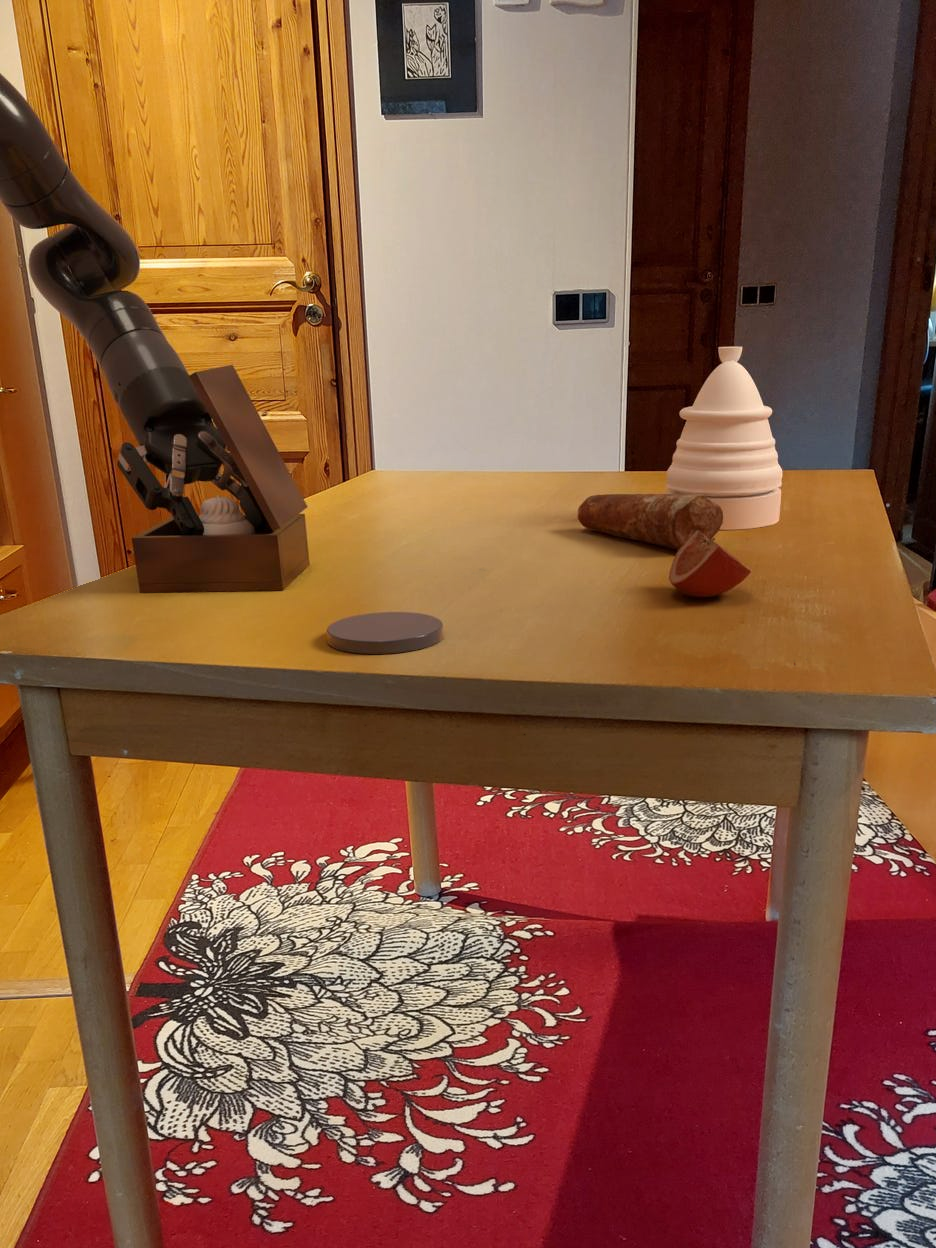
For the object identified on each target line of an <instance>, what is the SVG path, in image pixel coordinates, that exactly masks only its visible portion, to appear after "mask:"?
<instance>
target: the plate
mask: <svg viewBox="0 0 936 1248" xmlns="http://www.w3.org/2000/svg"><path fill="white" fill-rule="evenodd" d="M326 638H327V643H328V645H329V646H330V647H331V648H333V649H335V650H338V651H341V652H346V653H352V654H362V655H388V654H389V655H390V654H401V653H408V652H413V651H418V650H422V649H425V648H429V647H431V646H433V645H435V644H438V643H440V642H441V641H442V639H443V638H444V624H443V621H442V620H441V619H440V618H438V617H436V616H433V615H431V614H425V613H420V612H409V611H383V612H382V611H381V612H370V613H363V614H358V615H351V616H348V617H344V618H341V619H338V620H336V621H334V622H332V623H330V624H329V625H328V626H327V628H326Z"/></svg>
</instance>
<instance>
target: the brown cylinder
mask: <svg viewBox="0 0 936 1248" xmlns="http://www.w3.org/2000/svg"><path fill="white" fill-rule="evenodd" d="M577 521H578V522H579V523H580V525H581V526H582V527H583V528H586V529H589V530H593V531H597V532H601V533H605V534H607V535H609V536H610V535H611V536H614V537H618V538H621V539H622V538H623V539H627V540H629V539H630V540H635V541H638V542H642V543H648V544H651V545H656V546H660V547H663V548H667V549H671V550H677V551H678V550H679V549H680V548H681V547H682V546H683V545H684V543H685V542H686V541H687V540H689V538H690V537H691V536H692V535H693V534H694V533H695V532H696V531H697V530H698V531H700V532H702V534H704V535H705V536H706V537H707V538H708V539H709V540H710V539H713V538H715V535H717V534H718V533H719V529H720V527H721V525H722V523H723V511H722V509H721V507H720V506H718V505H717V504H715V503H713V502H712V501H710V500H709V499H708V498H706V497H705V496H704V495H692V494H665V493H610V494H607V493H606V494H594V495H590V496H588V497H586V498H585V500H583V502H582V503H581V504H580V505H579V507H578V509H577Z"/></svg>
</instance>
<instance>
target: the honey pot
mask: <svg viewBox="0 0 936 1248" xmlns="http://www.w3.org/2000/svg"><path fill="white" fill-rule="evenodd" d="M717 348H718V349H717V351H718V357H719V359H720V362H721V363H720V364H719V365H718V366H716V367H715V369H713V370H712V372H711V373H710V374H709V375H708V377H707V378H706V380H705V381H704V383H703V385H702V387H701V388H700V390H699V392H698V393H697V395H696V398H695V399H694V402H693V404H692V406H687V407H683V408H682V409H681V410H680V411H679V412H678V413H679V415H678V416H679V417H680V418H681V419H682V420H686V421H685V422H684V423H685V424H684V426H683V428H682V431H681V434H680V437H679V438H678V439H677V440H676V443H675V444H676V449H675V451H674V452H673V455H672V461H671V465H670V466H669V467H668V469H667V470H666V473H665V479H666V482H665V486H666V490H665V493H664V494H692V495H704V496H705V497H706V498H708V499H709V500H710V501H712V502H713V503H715V504H717V505H718V506H720V507H721V509H722V511H723V523H722V525H721V527H720V529H719V530H720V531H724V530H725V531H731V530H748V529H759V528H765V527H769V526H772V525H776V524H777V523H778V522H780V514H781V500H782V489H781V487H782V485H783V481H782V478H783V468H782V467H781V465H780V464H779V454H778V451H777V450H776V438H775V437H773V433H772V430H771V425H770V422H769V418H770V417H771V416H772V414H773V408H771V407H769V406H767V405H764V403H763V399H762V397H761V395H760V392H759V389H758V388H757V386H756V383H755V381H754V380H753V378H752V376H751V374H750V373H749V372H748V371H747V369H746V368H745V367H744V366H743V365H742V364H741V363H739V360H740V358H741V356H742V352H743V346H719V347H717Z"/></svg>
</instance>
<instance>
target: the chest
mask: <svg viewBox="0 0 936 1248" xmlns="http://www.w3.org/2000/svg"><path fill="white" fill-rule="evenodd" d="M243 515H244V518H245V519H247V517H246V516H245V514H243ZM247 520H248V519H247ZM131 545H132V551H133V557H134V565H135V571H136V577H137V582H138V589H139V593H197V592H198V593H200V592H202V593H204V592H205V593H206V592H260V591H259V590H262V591H261V592H263V591H265V590H267V592H268V591H270V592H271V591H284V590H285V589H286V588H287V587H288V586H289V585H290V584H291V583H292V582H293V581H294V580H295V579H296V578H297V577H298V576H299V575H300V574H301V573H303V572H304V571H305V570H306V569H307V567H309V565H310V564H311V563H310V557H309V556H310V552H309V543H308V533H307V522H306V514H305V513H300V514H298V515H297V516H296V517H294V518H293V519H292V520H290V521H289V522H288V523H286V524H285V525H284V526H283V527H281V528H280V529H278V530H276V531H274V532H273V531H272V529H271V527H270V525H269V523H268V521H267V524H266V526H265V528H264V531H262V532H255V534H235V535H183V534H182V533H181V531H180V529H179V527H178V525H177V524H176V522H175V520H174V518H173V516H172V515H171V516H170V517H168V518H166V519H164V520H162V521H161V522H159V523H156V524H155V525H154V526H151V527H150V528H148V529H146V530H144V531H142V532H140V533H138V534H136V535H135V536H133V537H131ZM265 592H266V591H265Z"/></svg>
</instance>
